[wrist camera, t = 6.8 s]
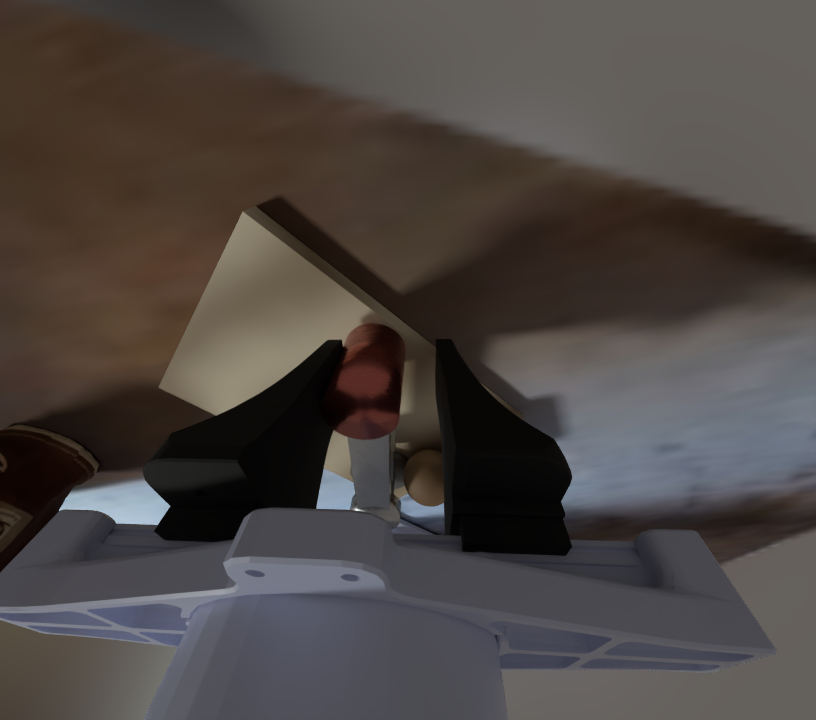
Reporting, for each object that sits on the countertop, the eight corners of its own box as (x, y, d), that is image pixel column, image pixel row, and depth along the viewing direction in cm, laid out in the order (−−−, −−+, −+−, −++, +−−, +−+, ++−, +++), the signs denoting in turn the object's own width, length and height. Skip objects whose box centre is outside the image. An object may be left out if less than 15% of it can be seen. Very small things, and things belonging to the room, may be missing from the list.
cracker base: (535, 425, 19) (558, 487, 15) (407, 495, 24) (404, 552, 21) (255, 206, 12) (189, 234, 9) (170, 375, 18) (111, 431, 14)
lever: (402, 484, 21) (398, 550, 18) (360, 481, 21) (347, 547, 18) (409, 322, 13) (403, 387, 10) (340, 319, 13) (311, 382, 10)
